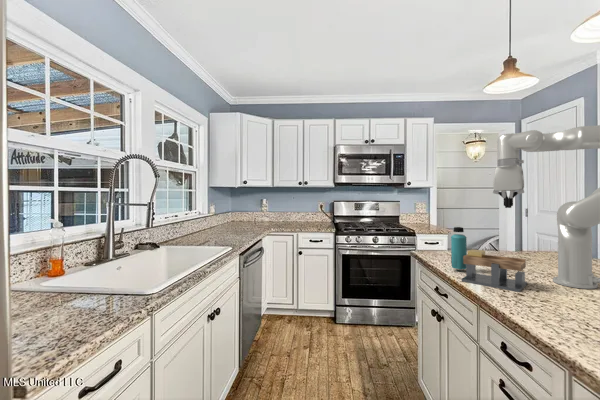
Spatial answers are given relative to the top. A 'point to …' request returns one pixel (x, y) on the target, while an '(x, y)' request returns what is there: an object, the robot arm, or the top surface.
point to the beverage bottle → (458, 249)
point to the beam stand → (495, 278)
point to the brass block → (476, 253)
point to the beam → (503, 261)
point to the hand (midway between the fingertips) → (508, 207)
